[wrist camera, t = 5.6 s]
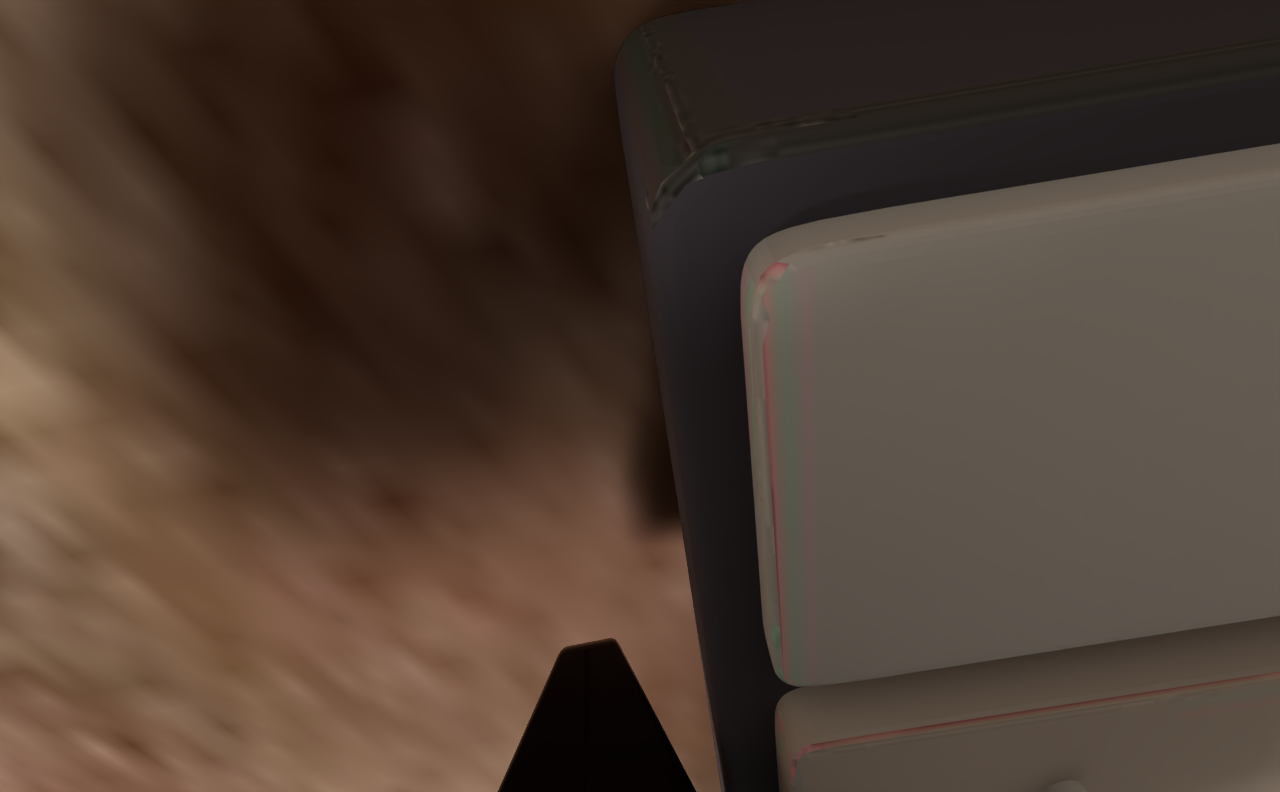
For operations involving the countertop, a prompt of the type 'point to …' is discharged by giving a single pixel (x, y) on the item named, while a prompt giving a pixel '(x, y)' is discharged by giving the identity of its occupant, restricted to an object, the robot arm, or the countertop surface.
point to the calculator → (971, 385)
